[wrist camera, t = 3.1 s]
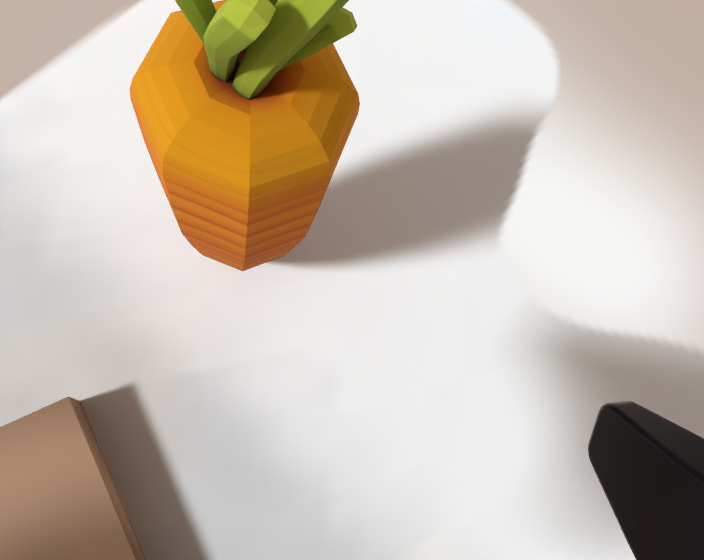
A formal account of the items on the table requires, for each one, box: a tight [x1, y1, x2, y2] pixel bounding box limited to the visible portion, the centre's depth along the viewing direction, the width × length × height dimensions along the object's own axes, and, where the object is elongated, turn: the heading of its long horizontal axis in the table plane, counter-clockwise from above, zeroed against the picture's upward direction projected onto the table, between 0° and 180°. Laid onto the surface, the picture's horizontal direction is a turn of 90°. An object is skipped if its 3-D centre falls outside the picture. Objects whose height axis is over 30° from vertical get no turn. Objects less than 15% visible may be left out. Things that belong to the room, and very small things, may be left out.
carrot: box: [130, 0, 360, 271], centre depth 16 cm, size 5×5×15 cm
